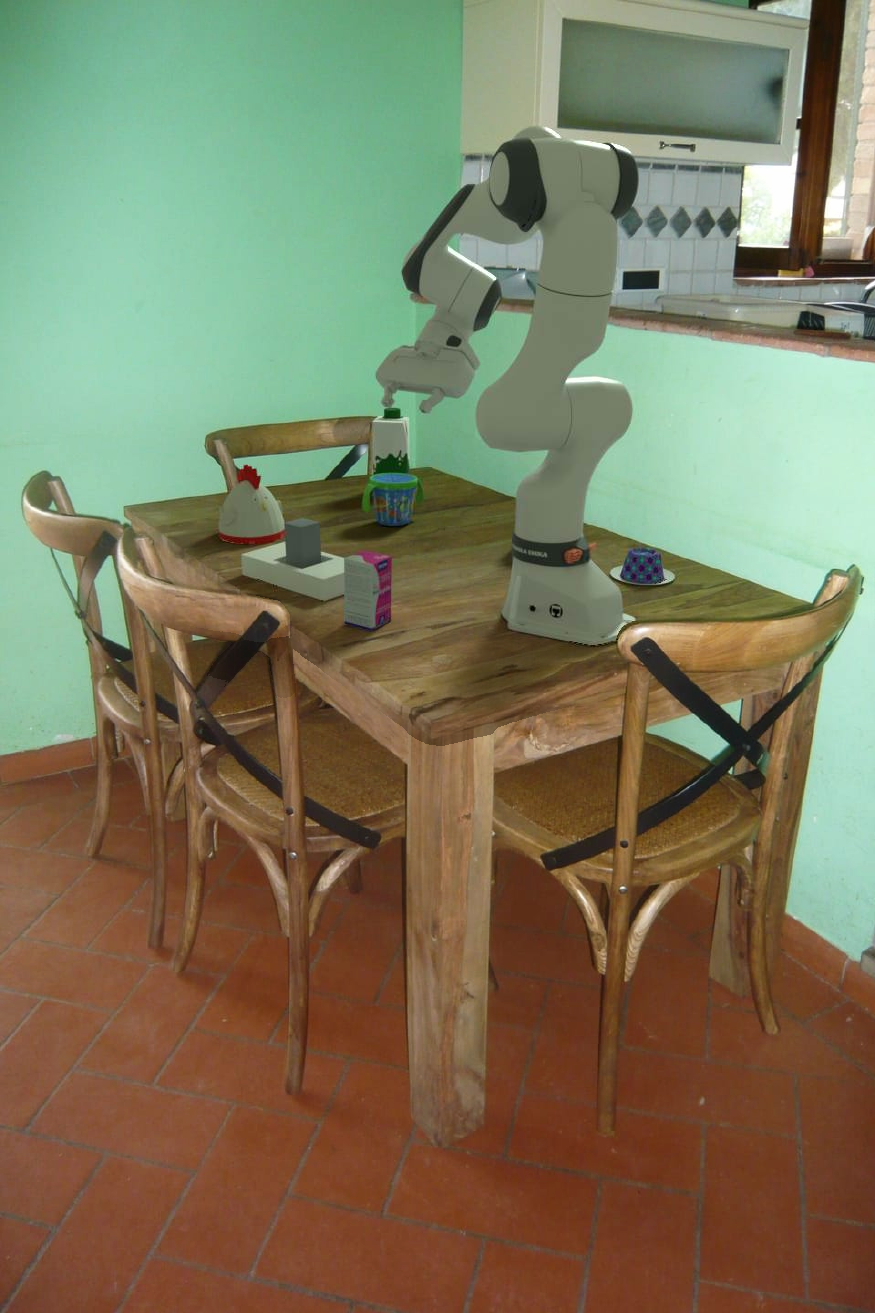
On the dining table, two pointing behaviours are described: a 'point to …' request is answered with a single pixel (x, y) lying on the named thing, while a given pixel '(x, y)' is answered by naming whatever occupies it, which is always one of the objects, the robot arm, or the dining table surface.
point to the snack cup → (392, 497)
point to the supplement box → (367, 590)
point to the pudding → (642, 568)
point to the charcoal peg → (302, 543)
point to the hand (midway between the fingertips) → (404, 408)
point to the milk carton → (391, 443)
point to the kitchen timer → (250, 512)
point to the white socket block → (296, 572)
